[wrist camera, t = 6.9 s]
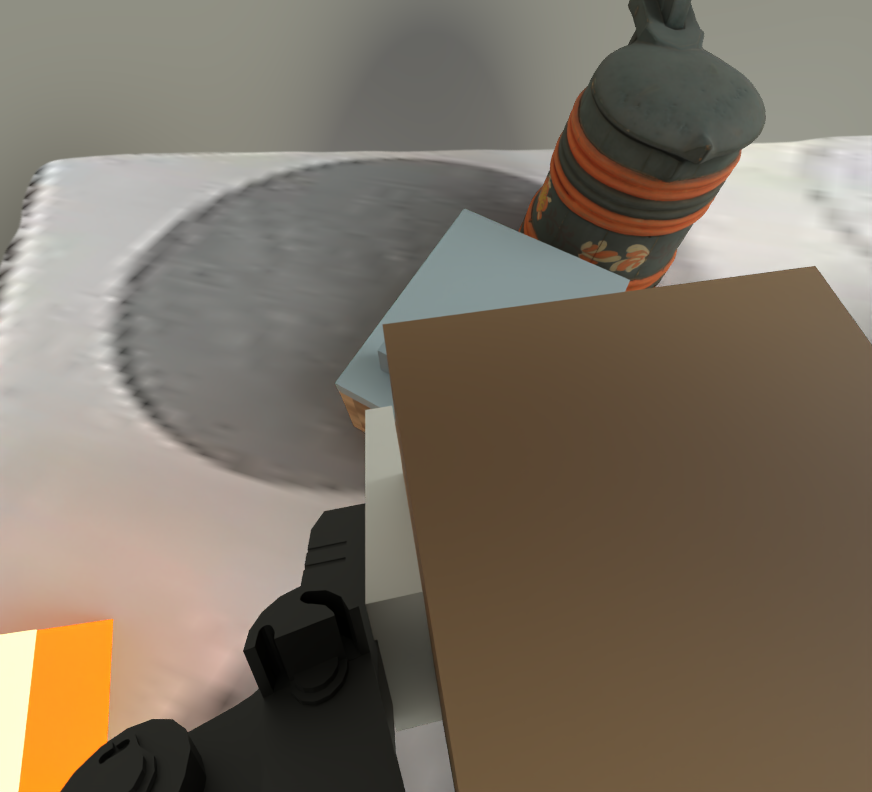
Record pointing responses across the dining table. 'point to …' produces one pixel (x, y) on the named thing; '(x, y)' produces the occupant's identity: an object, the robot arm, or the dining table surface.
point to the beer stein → (645, 148)
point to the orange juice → (52, 703)
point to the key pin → (646, 536)
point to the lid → (474, 290)
